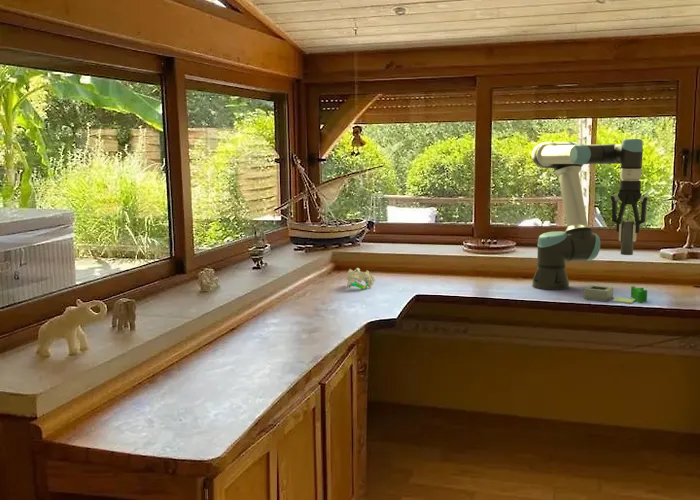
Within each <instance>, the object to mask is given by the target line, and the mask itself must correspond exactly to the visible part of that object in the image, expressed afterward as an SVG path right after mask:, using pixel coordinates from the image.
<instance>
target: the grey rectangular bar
mask: <svg viewBox="0 0 700 500" xmlns="http://www.w3.org/2000/svg"><path fill="white" fill-rule="evenodd" d="M621 223H622V235H621V241H620V255H622V256H623V255H624V256H633V255H634V242H632V241H633V225H634V224H635V220H622V221H621Z"/></svg>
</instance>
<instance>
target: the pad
mask: <svg viewBox="0 0 700 500" xmlns="http://www.w3.org/2000/svg"><path fill="white" fill-rule="evenodd" d="M612 302H613V303H622V304H628V305H633V303H634V302H635V303H636V302H637V301H636V299H633V298H632V297H621V296H617V297H615V298H614V299H612Z"/></svg>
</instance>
